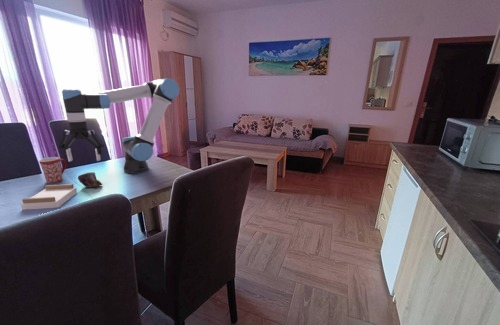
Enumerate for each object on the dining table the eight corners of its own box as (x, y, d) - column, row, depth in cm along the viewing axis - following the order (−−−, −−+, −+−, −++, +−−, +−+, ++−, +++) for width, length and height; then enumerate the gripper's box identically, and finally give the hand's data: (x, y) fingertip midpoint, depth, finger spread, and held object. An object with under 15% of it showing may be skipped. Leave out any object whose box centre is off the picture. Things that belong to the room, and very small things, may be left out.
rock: (99, 183, 132) (78, 187, 125) (97, 169, 131) (75, 172, 124) (103, 186, 124) (81, 191, 117) (101, 171, 122) (78, 175, 116)
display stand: (77, 192, 117) (75, 183, 115) (58, 207, 102) (55, 197, 100) (46, 194, 114) (43, 185, 113) (22, 209, 99) (19, 199, 98)
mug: (52, 184, 126) (46, 162, 122) (40, 182, 128) (34, 160, 124) (74, 177, 137) (69, 156, 133) (63, 175, 140) (58, 154, 136)
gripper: (107, 120, 120) (112, 158, 126) (53, 119, 115) (62, 159, 121) (100, 121, 113) (107, 161, 119) (44, 121, 108) (54, 163, 114)
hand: (84, 160), depth 120 cm, fingers open, 13 cm apart
